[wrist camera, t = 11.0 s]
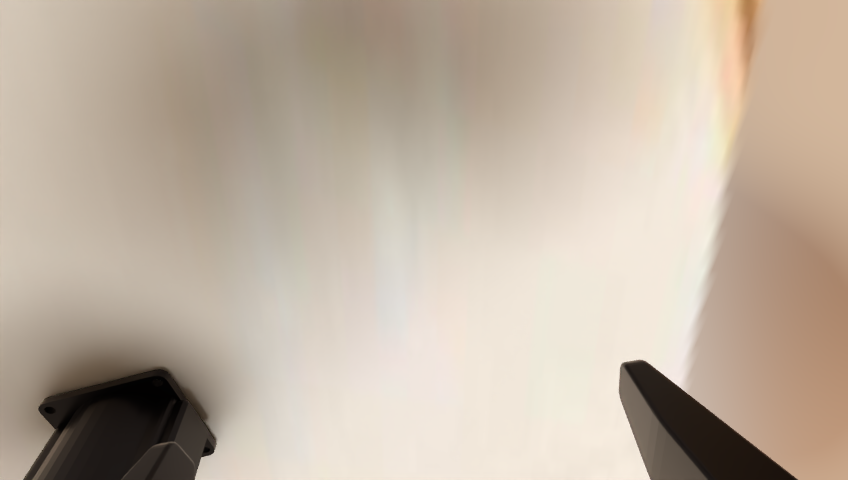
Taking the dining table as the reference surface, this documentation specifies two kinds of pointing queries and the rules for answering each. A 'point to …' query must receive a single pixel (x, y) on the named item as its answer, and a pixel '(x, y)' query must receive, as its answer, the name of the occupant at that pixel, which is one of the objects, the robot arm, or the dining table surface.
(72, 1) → the dining table surface
